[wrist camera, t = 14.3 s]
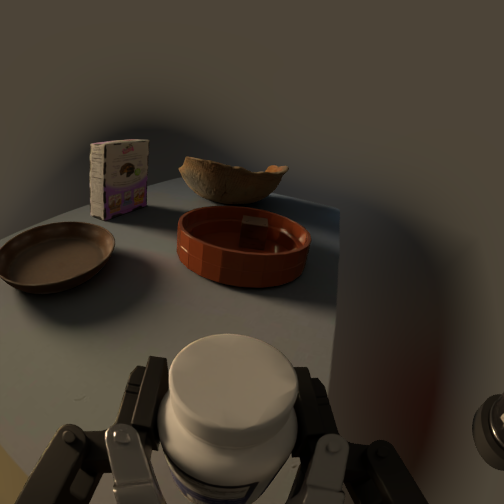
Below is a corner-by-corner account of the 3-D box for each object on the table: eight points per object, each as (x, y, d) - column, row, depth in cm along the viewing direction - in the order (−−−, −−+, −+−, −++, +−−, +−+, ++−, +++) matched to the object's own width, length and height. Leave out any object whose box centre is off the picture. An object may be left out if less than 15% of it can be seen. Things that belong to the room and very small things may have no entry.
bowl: (313, 251, 53) (320, 224, 51) (284, 309, 35) (293, 271, 32) (215, 224, 59) (218, 199, 57) (150, 261, 41) (150, 227, 38)
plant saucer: (128, 290, 33) (126, 268, 32) (-12, 314, 21) (-20, 292, 20) (107, 232, 48) (106, 215, 46) (10, 247, 36) (7, 230, 35)
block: (263, 241, 53) (267, 218, 51) (264, 251, 49) (268, 226, 47) (240, 237, 53) (243, 214, 51) (238, 247, 48) (241, 222, 47)
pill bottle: (229, 423, 15) (249, 304, 11) (286, 480, 12) (355, 386, 8) (155, 457, 12) (120, 346, 8) (209, 527, 8) (213, 489, 4)
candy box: (131, 202, 66) (134, 138, 59) (147, 206, 64) (151, 139, 57) (89, 215, 54) (89, 142, 47) (104, 221, 52) (105, 143, 46)
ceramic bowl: (221, 179, 96) (232, 139, 88) (288, 212, 87) (304, 168, 79) (155, 194, 72) (164, 141, 64) (233, 239, 63) (251, 177, 55)
